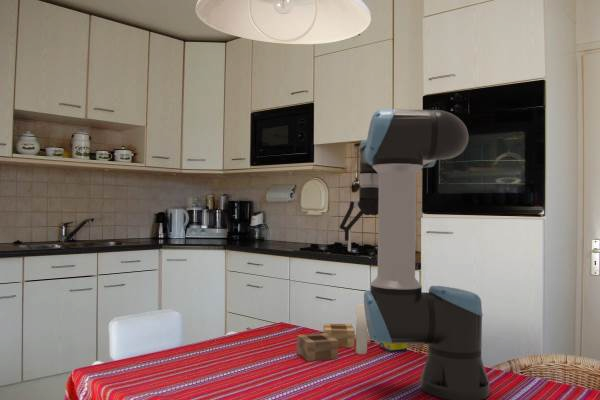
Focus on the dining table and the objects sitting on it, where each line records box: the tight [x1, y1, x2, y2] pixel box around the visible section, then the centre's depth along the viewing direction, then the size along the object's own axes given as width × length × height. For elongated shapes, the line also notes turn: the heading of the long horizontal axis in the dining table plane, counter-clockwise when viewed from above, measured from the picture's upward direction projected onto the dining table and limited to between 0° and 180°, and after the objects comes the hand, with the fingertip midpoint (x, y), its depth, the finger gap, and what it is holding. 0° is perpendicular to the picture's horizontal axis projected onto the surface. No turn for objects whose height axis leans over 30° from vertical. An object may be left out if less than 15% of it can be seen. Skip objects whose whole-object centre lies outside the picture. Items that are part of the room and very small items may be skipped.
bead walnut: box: [296, 332, 339, 362], centre depth 143 cm, size 9×9×5 cm
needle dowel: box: [355, 302, 368, 355], centre depth 147 cm, size 3×3×14 cm
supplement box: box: [379, 343, 408, 354], centre depth 151 cm, size 6×6×11 cm
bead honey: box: [322, 323, 356, 348], centre depth 157 cm, size 9×9×5 cm
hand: (369, 251), depth 166 cm, fingers open, 13 cm apart
